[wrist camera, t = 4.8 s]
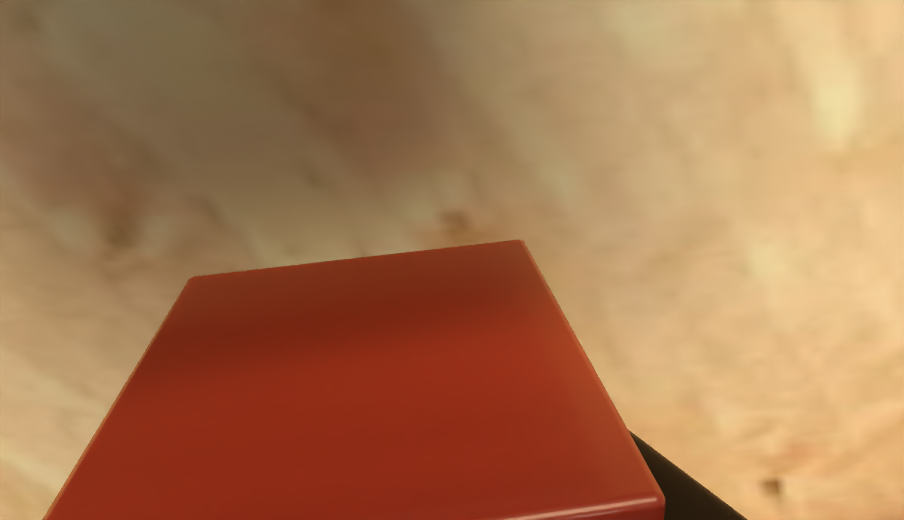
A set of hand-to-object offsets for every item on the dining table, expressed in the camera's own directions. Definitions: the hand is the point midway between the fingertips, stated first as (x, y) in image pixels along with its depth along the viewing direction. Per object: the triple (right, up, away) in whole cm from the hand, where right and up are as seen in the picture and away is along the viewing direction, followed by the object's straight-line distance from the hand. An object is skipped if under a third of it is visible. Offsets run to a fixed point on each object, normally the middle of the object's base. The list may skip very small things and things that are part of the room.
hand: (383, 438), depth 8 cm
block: (0, 0, +1) cm, 1 cm away
